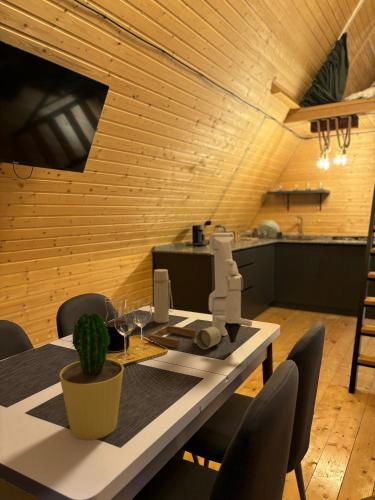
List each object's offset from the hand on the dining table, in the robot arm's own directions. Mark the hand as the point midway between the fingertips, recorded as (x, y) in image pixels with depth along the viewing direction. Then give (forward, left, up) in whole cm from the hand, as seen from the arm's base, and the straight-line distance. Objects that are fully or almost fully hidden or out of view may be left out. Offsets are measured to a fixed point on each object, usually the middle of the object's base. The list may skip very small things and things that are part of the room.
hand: (232, 342), depth 147 cm
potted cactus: (+65, -11, -4) cm, 66 cm away
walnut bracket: (0, -27, -3) cm, 27 cm away
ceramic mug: (0, -11, -4) cm, 12 cm away
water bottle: (-19, -44, -4) cm, 48 cm away
